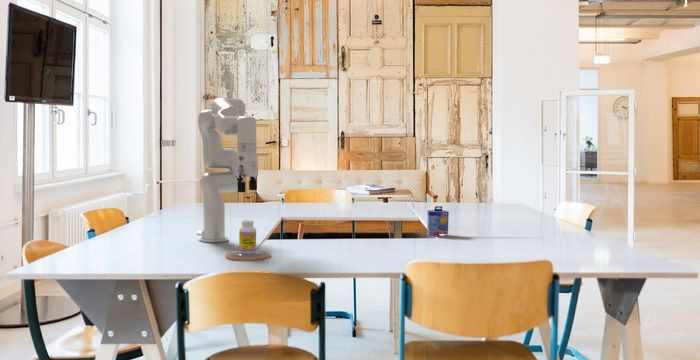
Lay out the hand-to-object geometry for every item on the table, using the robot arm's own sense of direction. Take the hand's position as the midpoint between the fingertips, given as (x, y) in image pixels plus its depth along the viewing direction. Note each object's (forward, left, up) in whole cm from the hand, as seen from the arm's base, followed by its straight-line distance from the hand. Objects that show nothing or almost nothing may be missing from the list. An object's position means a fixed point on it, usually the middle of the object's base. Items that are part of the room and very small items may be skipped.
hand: (247, 191), depth 256 cm
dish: (0, 0, -26) cm, 26 cm away
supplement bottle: (0, 0, -25) cm, 25 cm away
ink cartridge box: (+62, +79, -26) cm, 104 cm away
